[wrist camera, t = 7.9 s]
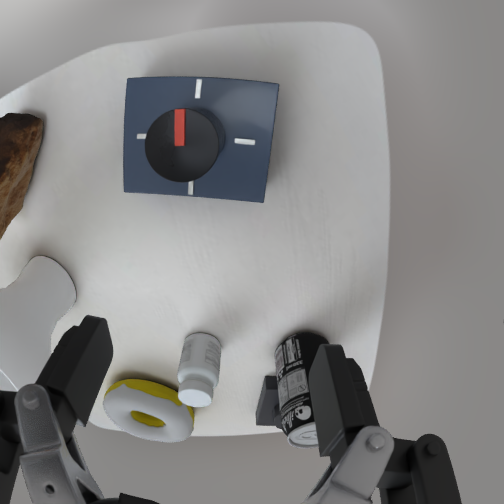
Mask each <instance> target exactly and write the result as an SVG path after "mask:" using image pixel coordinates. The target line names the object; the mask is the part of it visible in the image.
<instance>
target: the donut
mask: <svg viewBox="0 0 504 504" xmlns="http://www.w3.org/2000/svg"><path fill="white" fill-rule="evenodd" d="M103 407H104V410H105V412H106V414H107V416H108V417H109V418H110V420H111V421H112V422H113V423H114V424H115V425H116V426H118V427H119V428H121V429H122V430H124V431H126V432H128V433H129V434H132V435H134V436H136V437H139V438H143V439H147V440H154V441H162V442H178V441H181V440H185V439H187V438H188V437H189V436H190V435H191V433H192V431H193V429H194V427H193V426H194V412H193V409H192V407H191V406H188V405H186V404H184V403H182V402H181V401H180V400H179V398H178V393H177V392H176V391H174V390H173V389H170V388H168V387H166V386H164V385H161V384H158V383H155V382H151V381H147V380H141V379H126V380H121V381H118V382H116V383H114V384H113V385H112V386H110V388H109V389H108V390H107V391H106V393H105V396H104V401H103Z"/></svg>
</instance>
